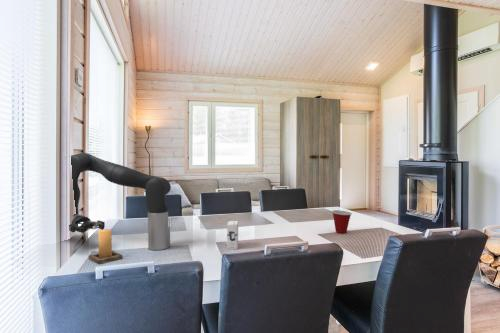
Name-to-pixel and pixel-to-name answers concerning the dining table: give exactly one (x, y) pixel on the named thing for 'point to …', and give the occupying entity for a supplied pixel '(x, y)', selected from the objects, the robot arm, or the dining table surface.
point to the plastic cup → (341, 220)
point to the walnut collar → (99, 261)
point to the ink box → (232, 235)
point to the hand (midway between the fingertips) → (93, 228)
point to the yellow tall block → (105, 243)
